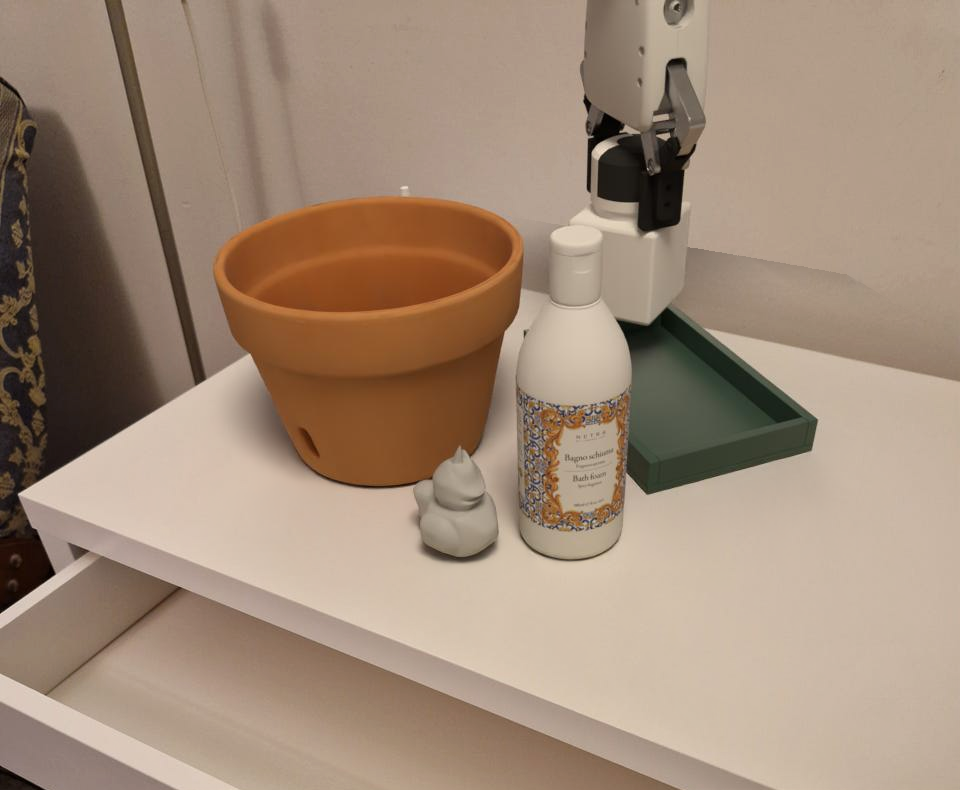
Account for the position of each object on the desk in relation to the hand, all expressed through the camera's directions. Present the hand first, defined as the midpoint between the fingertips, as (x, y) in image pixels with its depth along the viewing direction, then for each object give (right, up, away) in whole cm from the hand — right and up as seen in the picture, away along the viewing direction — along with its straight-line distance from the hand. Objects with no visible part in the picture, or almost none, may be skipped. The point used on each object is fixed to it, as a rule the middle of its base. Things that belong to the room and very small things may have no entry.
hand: (631, 206), depth 75 cm
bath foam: (-5, -25, -7) cm, 27 cm away
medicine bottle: (0, -6, +5) cm, 8 cm away
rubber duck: (-13, -26, -8) cm, 30 cm away
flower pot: (-18, -17, +3) cm, 25 cm away
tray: (+3, -13, +5) cm, 15 cm away
